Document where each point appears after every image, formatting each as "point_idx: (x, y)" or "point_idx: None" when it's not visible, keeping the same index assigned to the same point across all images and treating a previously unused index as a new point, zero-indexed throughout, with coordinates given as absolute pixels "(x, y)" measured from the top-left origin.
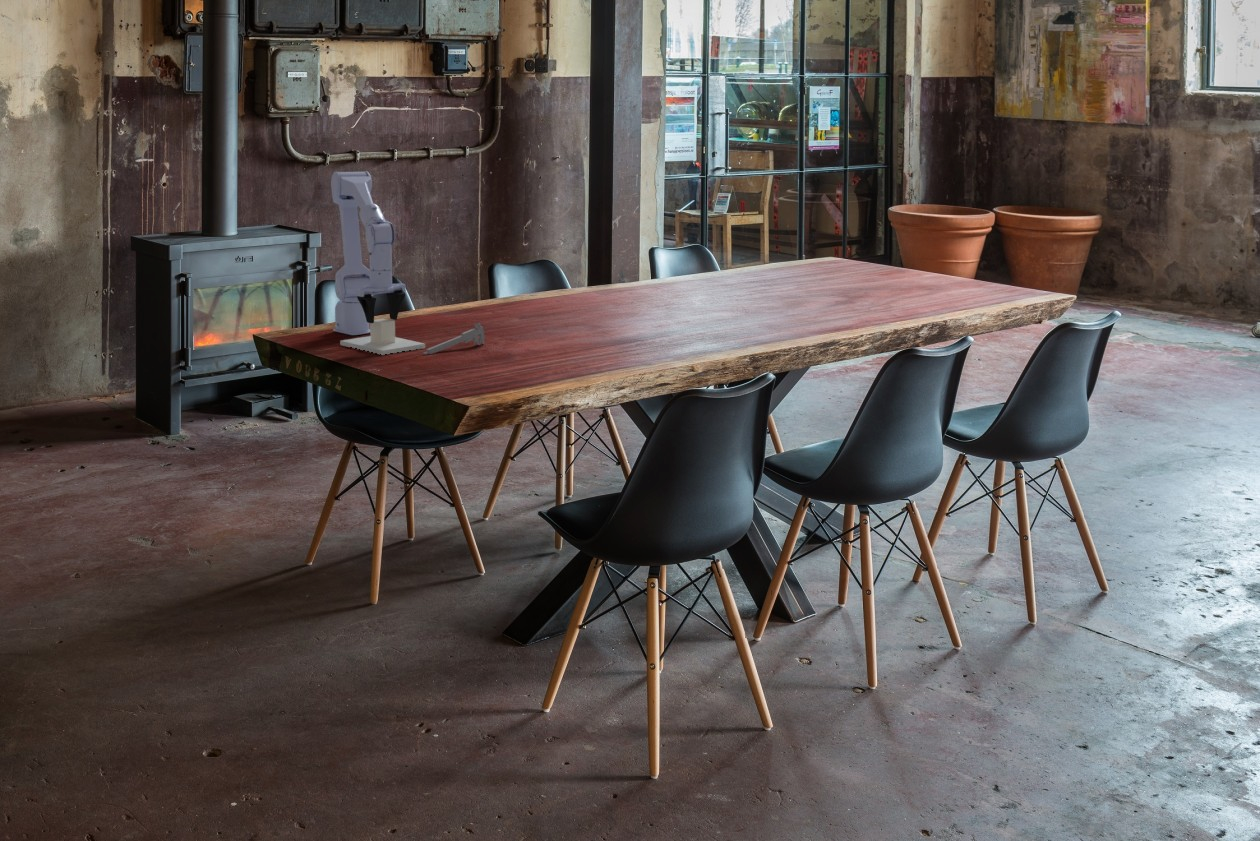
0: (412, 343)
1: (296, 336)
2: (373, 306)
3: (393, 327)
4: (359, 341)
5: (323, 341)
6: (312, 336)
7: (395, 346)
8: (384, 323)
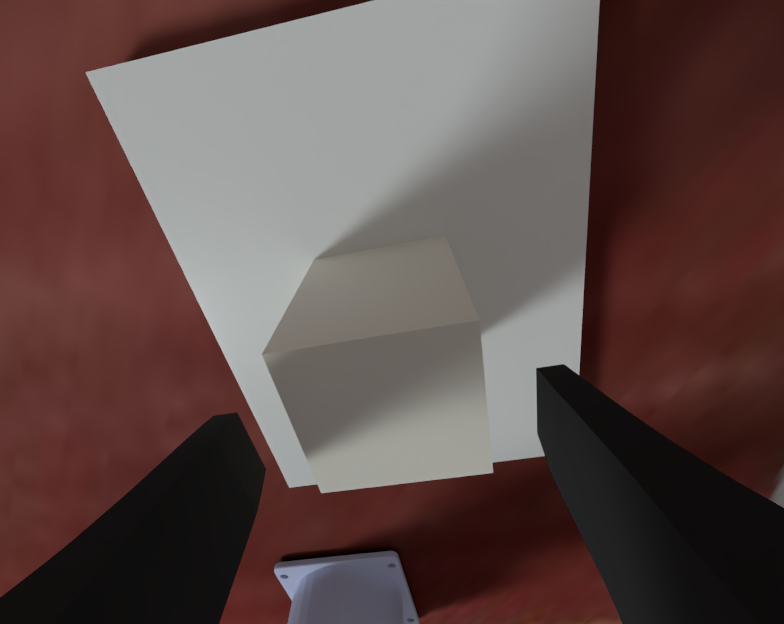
0: (198, 147)
1: (579, 608)
2: (750, 559)
3: (302, 311)
4: (504, 391)
5: (565, 519)
6: (533, 592)
7: (384, 93)
8: (419, 321)
